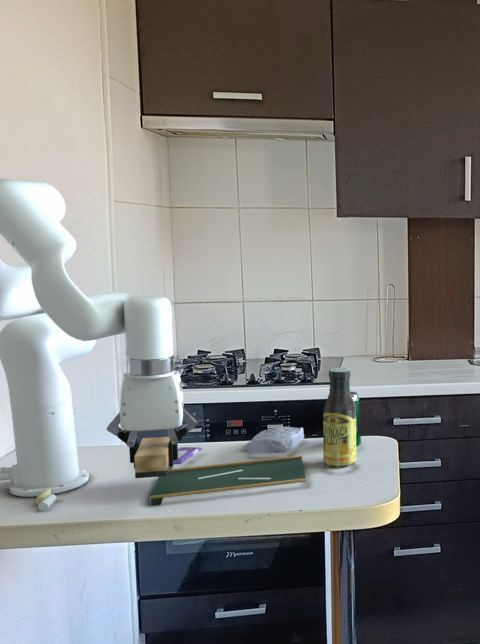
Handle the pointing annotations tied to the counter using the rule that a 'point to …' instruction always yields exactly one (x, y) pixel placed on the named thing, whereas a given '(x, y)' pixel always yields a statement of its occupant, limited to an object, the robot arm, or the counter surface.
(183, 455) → the snack package
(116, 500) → the counter surface
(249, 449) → the stone block
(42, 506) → the chalk stick
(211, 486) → the chalkboard
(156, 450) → the eraser
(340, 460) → the sauce bottle
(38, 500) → the chalk stick
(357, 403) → the soda can
